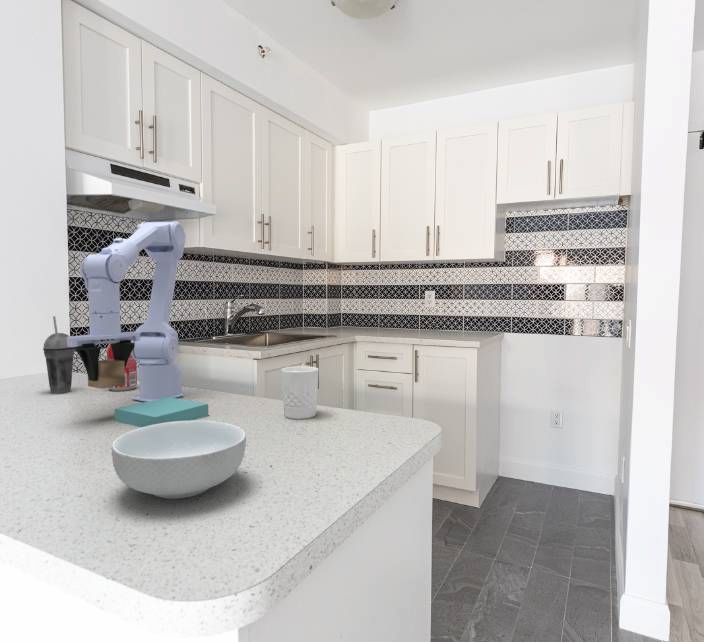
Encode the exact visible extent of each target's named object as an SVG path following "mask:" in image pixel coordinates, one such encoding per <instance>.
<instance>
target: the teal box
mask: <svg viewBox="0 0 704 642" xmlns="http://www.w3.org/2000/svg"><path fill="white" fill-rule="evenodd" d="M208 416H209V404H208V403H205V402H200V401H193V400H187V399H181V398H178V397H177V398H171V397H166V398H162V399H157V400H152V401H148V402H144V401H142V402H139V403H134V404H129V405H126V406H125V405H124V406H120V407H116V408H114V421H115V422H119V423H123V424H127V425H130V426H131V425H132V426H136V427H138V428H142V427H145V426H150V425H155V424H160V423H166V422H175V421H193V420H199V419H202V418H204V417H208Z"/></svg>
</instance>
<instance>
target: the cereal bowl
mask: <svg viewBox="0 0 704 642" xmlns="http://www.w3.org/2000/svg"><path fill="white" fill-rule="evenodd" d="M246 444H247V434H246V432H245V431H244V429H242V428H241V427H239V426H237V425H235V424H231V423H228V422H221V421H215V420H204V419H203V420H199V419H194V420H191V421H175V422H166V423H160V424H155V425H150V426H145V427H138V428H136V429H133V430H130V431H128V432H125V433H123V434H121V435H119V436H118V437H116V439H115V440H114V441H113V442H112V445H111V448H110V449H111V457H112V458H111V459H112V466H113V468H114V471H115V474H116V475H117V477H118V479H120V480H121V482H122V483H123V484H124V485H126V486H127V487H129V488H131V489H133V490H134V491H137V492H140V493H144V494H149V495H153V496H155V497H158V498H161V499H171V500H173V499H184V498H189V497H190V498H191V497H194V496H197V495H200V494H202V493H204V492H206V491H207V490H210V489H211V488H212V487H215V486H218V485H219V484H222V483H223V482H224V481H227V479H230V478H231V476H233V475H234V474H235V473H236V471H237V470H238V469H239V467H240V466H241V465H242V462H243V459H244V456H245V451H246Z"/></svg>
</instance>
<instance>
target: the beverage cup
mask: <svg viewBox="0 0 704 642" xmlns="http://www.w3.org/2000/svg"><path fill="white" fill-rule="evenodd" d="M52 319H53V326H54V333H52V334H51V335H49V336H48V337H47V338H46V339H45V341H44V343H43V348H42V350H43V354H44V358H45V363H46V370H47V376H48V377H47V378H48V379H47V380H48V386H49V388H50V394H52V395H61V394H68V393H71V392H72V390H71V389H72V382H73V380H72V379H73V366H74V356H75V352H76V350H75V347H68V346H67V337H71V336H70V335H68V334H66V333H64V332H58V326H57V318H56V316H55V315H54V316H52Z"/></svg>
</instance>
